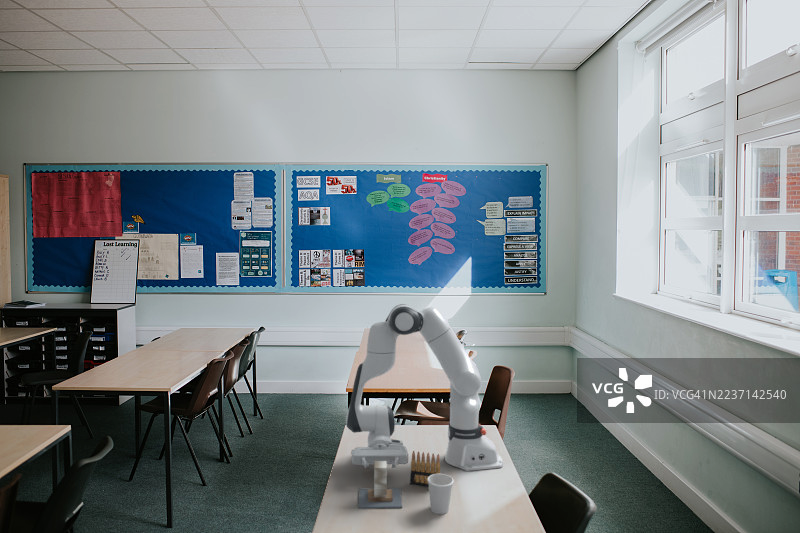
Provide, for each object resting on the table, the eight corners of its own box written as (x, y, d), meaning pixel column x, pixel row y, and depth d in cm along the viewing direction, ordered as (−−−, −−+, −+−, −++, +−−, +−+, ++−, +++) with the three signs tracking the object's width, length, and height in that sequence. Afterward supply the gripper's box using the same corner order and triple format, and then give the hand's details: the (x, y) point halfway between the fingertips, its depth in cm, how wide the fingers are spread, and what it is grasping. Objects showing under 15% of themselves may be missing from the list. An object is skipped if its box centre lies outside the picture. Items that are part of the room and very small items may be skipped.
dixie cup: (434, 518, 161) (434, 487, 160) (422, 505, 168) (422, 475, 168) (457, 513, 164) (458, 482, 163) (444, 500, 172) (445, 471, 171)
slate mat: (400, 489, 178) (400, 488, 178) (402, 508, 166) (402, 506, 166) (359, 490, 177) (359, 488, 177) (358, 508, 166) (358, 506, 165)
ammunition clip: (409, 484, 182) (410, 451, 181) (410, 482, 184) (411, 449, 183) (439, 489, 180) (440, 455, 179) (440, 486, 181) (441, 453, 181)
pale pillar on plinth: (391, 492, 175) (392, 460, 174) (392, 501, 169) (393, 468, 168) (368, 492, 175) (368, 460, 174) (368, 501, 169) (368, 468, 168)
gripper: (351, 441, 191) (350, 457, 177) (406, 440, 192) (409, 456, 179) (351, 457, 192) (350, 475, 178) (406, 457, 193) (409, 474, 179)
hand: (380, 465), depth 178 cm, fingers open, 8 cm apart
